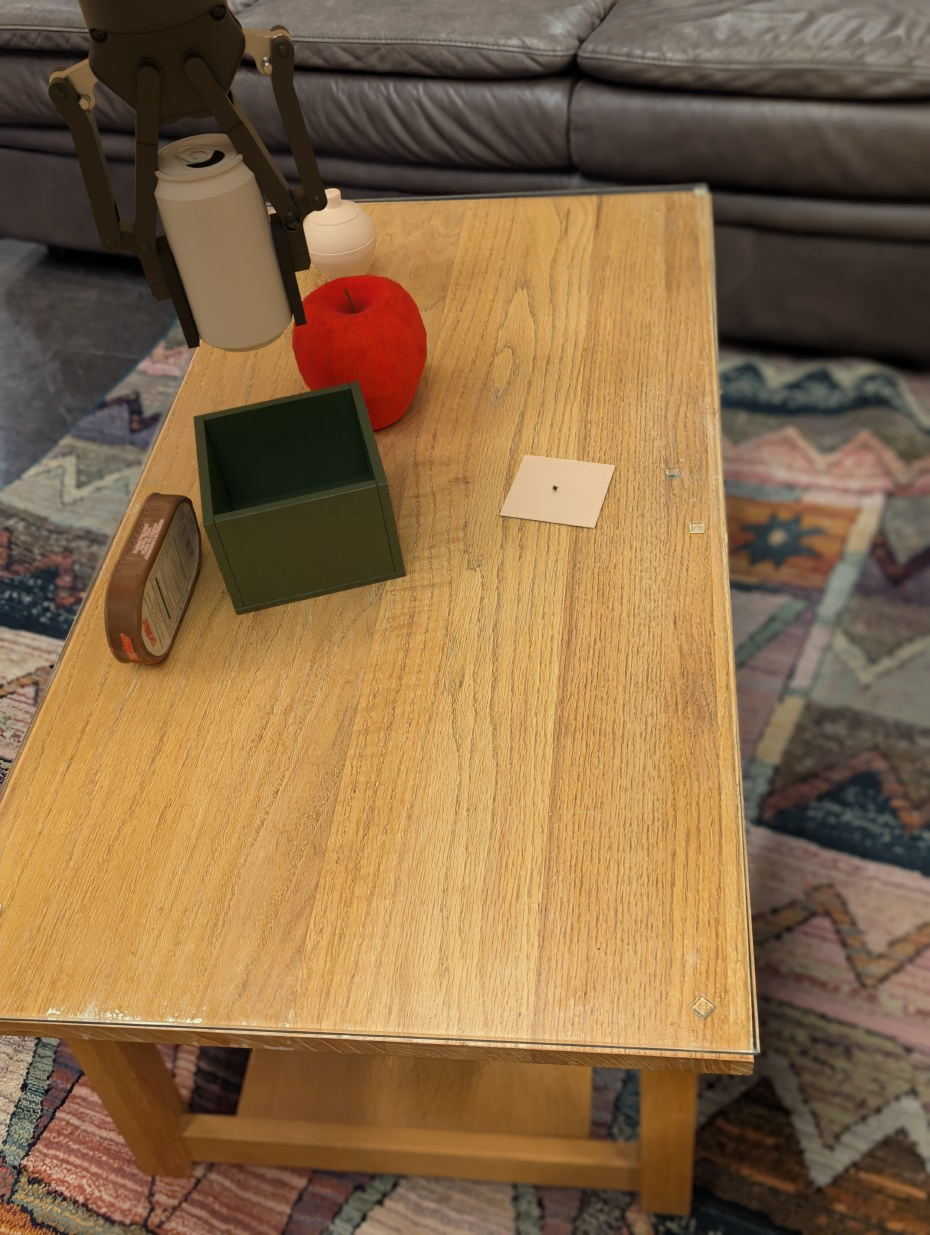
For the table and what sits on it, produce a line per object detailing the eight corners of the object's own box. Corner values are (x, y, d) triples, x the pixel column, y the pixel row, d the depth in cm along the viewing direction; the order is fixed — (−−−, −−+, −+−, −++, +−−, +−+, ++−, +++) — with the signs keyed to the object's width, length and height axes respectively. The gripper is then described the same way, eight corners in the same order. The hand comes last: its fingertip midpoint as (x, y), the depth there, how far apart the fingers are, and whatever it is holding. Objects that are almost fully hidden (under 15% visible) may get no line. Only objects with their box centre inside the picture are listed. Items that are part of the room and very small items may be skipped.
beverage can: (241, 370, 69) (186, 187, 60) (181, 338, 72) (121, 161, 63) (315, 324, 71) (273, 143, 63) (254, 295, 75) (206, 120, 66)
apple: (393, 363, 106) (370, 236, 96) (463, 416, 99) (447, 284, 89) (289, 414, 102) (255, 287, 92) (355, 473, 95) (326, 342, 85)
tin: (180, 547, 90) (149, 469, 84) (216, 547, 90) (188, 468, 84) (124, 687, 80) (84, 610, 74) (165, 688, 80) (128, 610, 74)
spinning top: (397, 306, 113) (379, 196, 104) (328, 328, 111) (304, 218, 103) (373, 274, 118) (354, 166, 109) (307, 294, 116) (282, 187, 108)
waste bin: (236, 615, 84) (202, 524, 77) (224, 506, 94) (193, 416, 87) (406, 576, 85) (387, 482, 78) (377, 471, 95) (358, 380, 88)
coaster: (615, 465, 92) (615, 458, 91) (594, 528, 87) (594, 520, 86) (524, 454, 94) (524, 447, 93) (499, 515, 89) (498, 507, 88)
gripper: (311, -124, 58) (380, 269, 75) (-52, -59, 56) (101, 326, 73) (330, -88, 53) (399, 324, 70) (-69, -16, 51) (100, 388, 68)
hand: (246, 325), depth 71 cm, fingers closed on beverage can, 6 cm apart
